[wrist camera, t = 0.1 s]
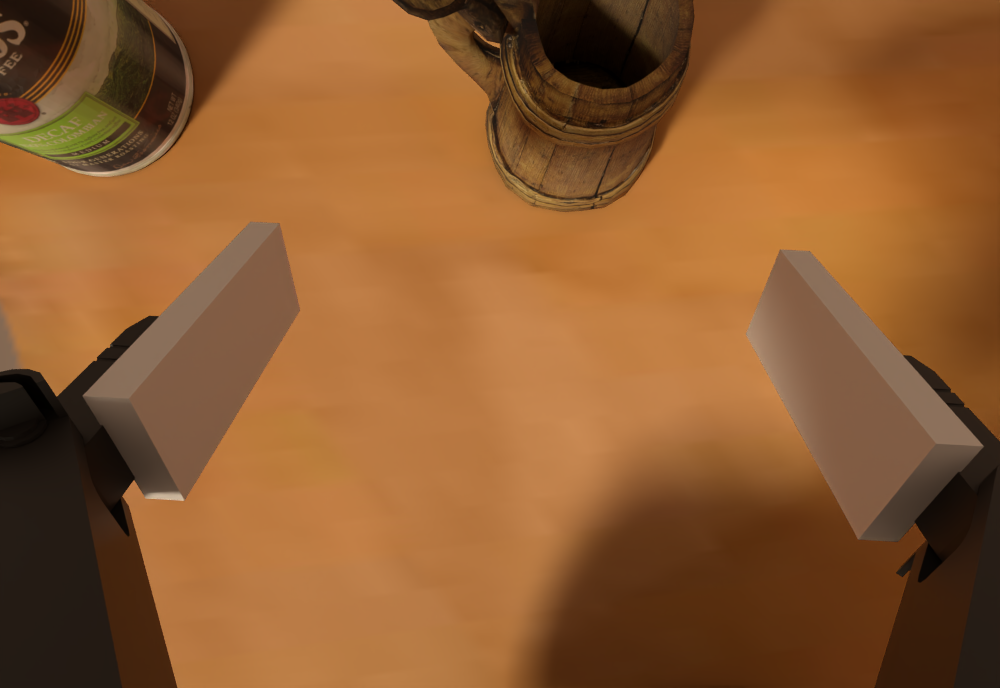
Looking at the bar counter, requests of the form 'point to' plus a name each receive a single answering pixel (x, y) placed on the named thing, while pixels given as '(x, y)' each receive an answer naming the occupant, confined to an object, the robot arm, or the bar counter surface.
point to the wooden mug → (568, 87)
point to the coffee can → (92, 83)
